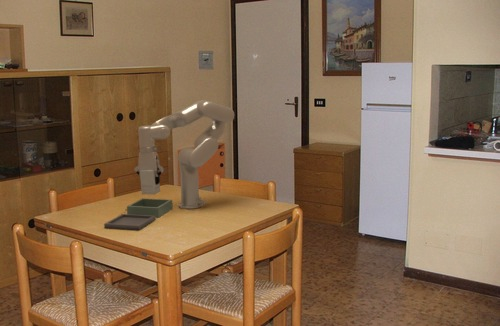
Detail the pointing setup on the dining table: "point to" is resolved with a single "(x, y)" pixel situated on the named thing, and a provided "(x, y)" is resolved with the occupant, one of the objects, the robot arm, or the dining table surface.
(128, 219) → the tray
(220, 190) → the dining table surface
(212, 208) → the dining table surface
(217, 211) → the dining table surface
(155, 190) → the supplement box
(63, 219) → the dining table surface
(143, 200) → the green open box
